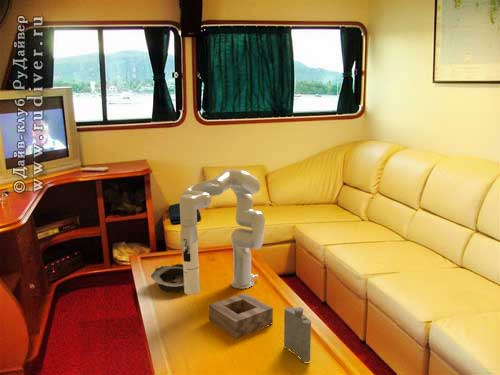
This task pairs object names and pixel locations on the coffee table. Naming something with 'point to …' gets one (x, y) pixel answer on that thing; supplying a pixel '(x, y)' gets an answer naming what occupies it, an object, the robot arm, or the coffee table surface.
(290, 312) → the hip flask
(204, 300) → the coffee table surface
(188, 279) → the cylindrical container
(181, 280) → the stone bowl
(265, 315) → the walnut well block
